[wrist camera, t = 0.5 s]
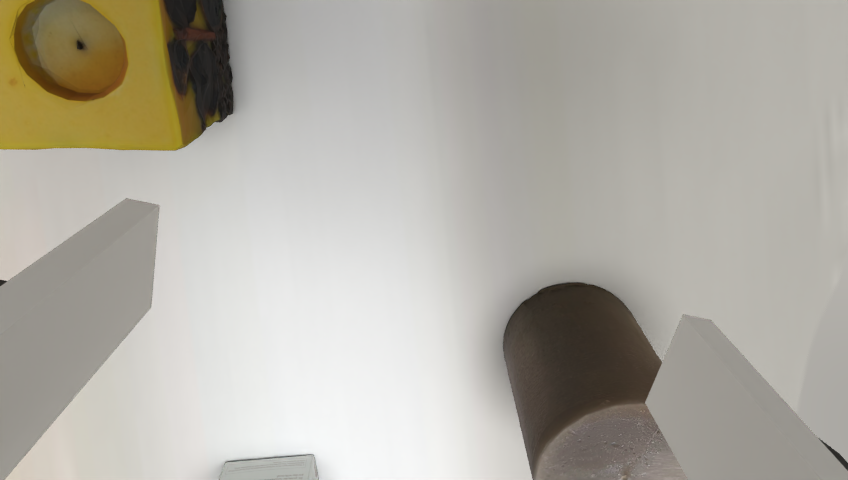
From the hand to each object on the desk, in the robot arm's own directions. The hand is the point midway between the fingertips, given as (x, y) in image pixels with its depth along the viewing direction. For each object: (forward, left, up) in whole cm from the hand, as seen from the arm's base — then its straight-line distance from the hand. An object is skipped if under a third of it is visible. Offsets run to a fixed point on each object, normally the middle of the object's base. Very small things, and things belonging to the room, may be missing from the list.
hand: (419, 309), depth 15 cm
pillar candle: (+13, +15, -26) cm, 33 cm away
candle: (-1, -17, -26) cm, 31 cm away
